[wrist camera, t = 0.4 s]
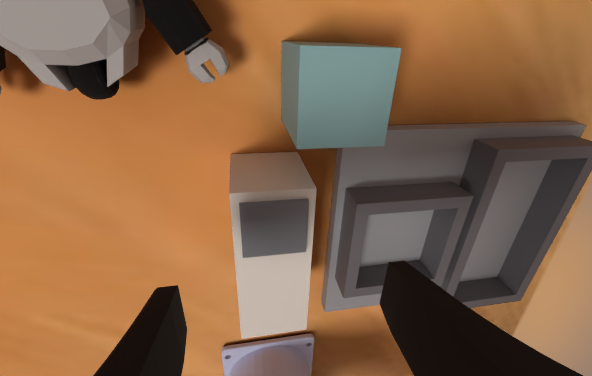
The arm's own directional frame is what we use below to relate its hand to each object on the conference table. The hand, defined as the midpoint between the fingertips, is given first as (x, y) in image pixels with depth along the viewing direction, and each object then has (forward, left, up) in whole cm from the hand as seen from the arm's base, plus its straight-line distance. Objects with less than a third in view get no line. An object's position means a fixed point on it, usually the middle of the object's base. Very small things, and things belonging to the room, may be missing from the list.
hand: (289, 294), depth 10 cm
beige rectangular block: (-3, 0, -10) cm, 10 cm away
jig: (-4, -13, -9) cm, 17 cm away
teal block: (+6, -3, -10) cm, 11 cm away
